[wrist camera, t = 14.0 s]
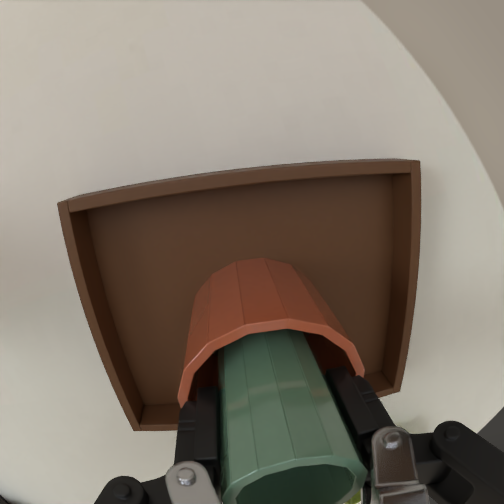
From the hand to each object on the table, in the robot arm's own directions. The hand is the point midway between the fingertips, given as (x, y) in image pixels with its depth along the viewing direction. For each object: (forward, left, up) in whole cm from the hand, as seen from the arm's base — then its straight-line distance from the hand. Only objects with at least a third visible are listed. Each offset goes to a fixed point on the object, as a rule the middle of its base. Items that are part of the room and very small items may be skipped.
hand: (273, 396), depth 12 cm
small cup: (0, 0, -4) cm, 4 cm away
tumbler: (0, 0, -7) cm, 7 cm away
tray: (0, -1, -7) cm, 7 cm away
